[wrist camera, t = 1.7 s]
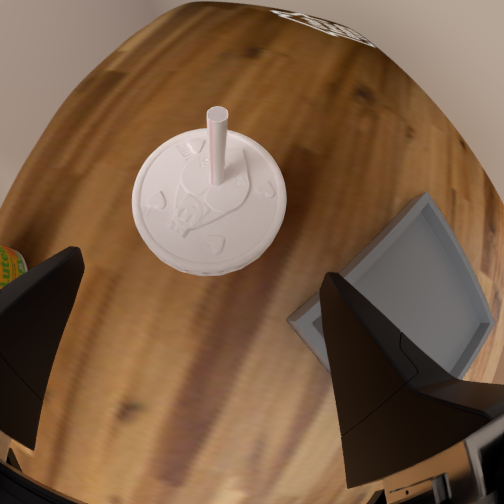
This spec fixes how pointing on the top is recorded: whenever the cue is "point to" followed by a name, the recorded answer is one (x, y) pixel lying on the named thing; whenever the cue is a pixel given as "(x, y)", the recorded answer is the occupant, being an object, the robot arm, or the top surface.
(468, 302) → the tray
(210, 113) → the smoothie
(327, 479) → the top surface
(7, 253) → the supplement bottle
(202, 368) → the top surface
